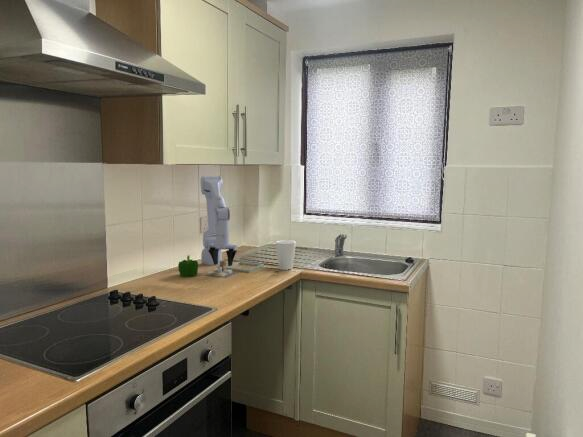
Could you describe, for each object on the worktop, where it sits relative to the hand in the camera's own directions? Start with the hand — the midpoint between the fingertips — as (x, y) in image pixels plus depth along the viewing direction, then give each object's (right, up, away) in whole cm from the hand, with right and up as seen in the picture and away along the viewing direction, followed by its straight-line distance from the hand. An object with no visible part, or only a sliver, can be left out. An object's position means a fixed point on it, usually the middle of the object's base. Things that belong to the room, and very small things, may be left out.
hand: (222, 265), depth 200 cm
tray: (+8, -4, +10) cm, 13 cm away
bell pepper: (-14, -6, -4) cm, 16 cm away
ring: (-1, -4, -2) cm, 4 cm away
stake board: (0, -5, -2) cm, 5 cm away
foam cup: (+28, -3, +14) cm, 31 cm away
